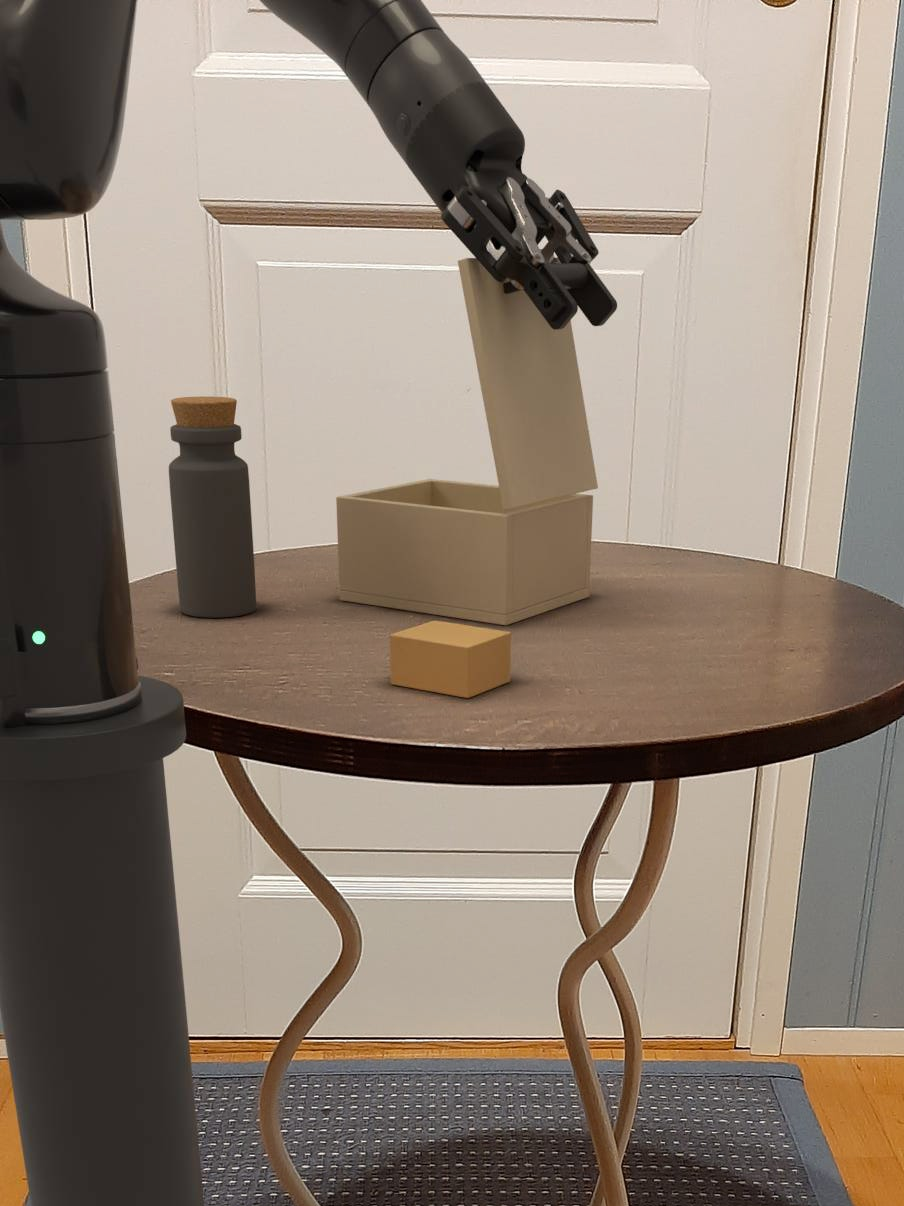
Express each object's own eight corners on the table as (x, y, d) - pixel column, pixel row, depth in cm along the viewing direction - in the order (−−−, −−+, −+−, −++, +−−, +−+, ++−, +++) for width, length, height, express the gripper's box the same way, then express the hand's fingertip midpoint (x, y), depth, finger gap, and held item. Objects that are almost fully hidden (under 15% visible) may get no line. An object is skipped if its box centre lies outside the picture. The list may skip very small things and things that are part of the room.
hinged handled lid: (457, 260, 103) (517, 241, 101) (551, 260, 113) (609, 242, 110) (503, 510, 109) (561, 498, 106) (589, 489, 118) (645, 478, 115)
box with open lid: (339, 600, 120) (335, 496, 116) (430, 575, 129) (429, 478, 126) (505, 625, 113) (507, 516, 109) (589, 597, 122) (593, 495, 118)
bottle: (271, 607, 118) (260, 398, 111) (227, 621, 113) (212, 404, 106) (210, 599, 120) (195, 394, 113) (164, 613, 115) (145, 400, 108)
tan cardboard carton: (390, 684, 97) (389, 634, 96) (434, 668, 101) (434, 619, 100) (468, 698, 95) (468, 647, 93) (510, 681, 98) (511, 632, 97)
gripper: (417, 69, 99) (571, 280, 99) (532, 85, 109) (670, 275, 109) (355, 164, 104) (501, 365, 104) (470, 171, 114) (602, 353, 114)
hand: (587, 318), depth 107 cm, fingers closed on hinged handled lid, 5 cm apart
